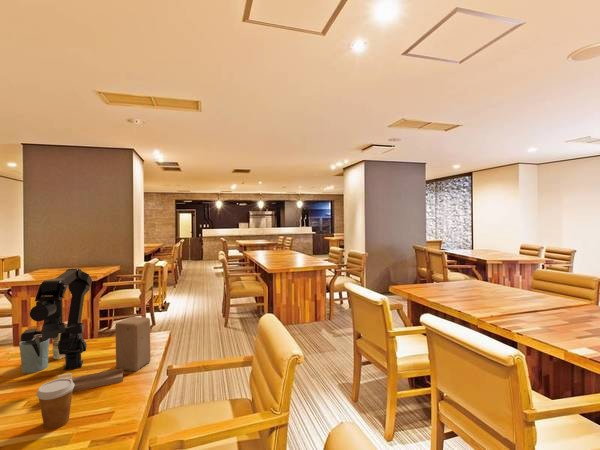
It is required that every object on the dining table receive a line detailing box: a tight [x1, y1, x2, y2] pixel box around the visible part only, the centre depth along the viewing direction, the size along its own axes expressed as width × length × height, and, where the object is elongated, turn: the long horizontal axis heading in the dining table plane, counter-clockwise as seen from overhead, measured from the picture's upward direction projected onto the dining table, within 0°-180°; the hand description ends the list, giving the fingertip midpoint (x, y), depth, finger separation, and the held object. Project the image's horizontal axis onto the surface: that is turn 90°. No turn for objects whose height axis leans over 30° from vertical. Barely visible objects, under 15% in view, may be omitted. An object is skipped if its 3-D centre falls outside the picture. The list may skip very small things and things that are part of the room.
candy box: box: [51, 320, 68, 360], centre depth 153 cm, size 9×4×15 cm, turn 164°
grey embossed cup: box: [18, 336, 51, 374], centre depth 140 cm, size 10×10×12 cm
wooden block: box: [115, 316, 152, 372], centre depth 142 cm, size 10×10×20 cm
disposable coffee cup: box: [35, 378, 75, 430], centre depth 103 cm, size 10×10×12 cm
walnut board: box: [72, 368, 124, 393], centre depth 127 cm, size 8×23×2 cm, turn 118°
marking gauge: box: [55, 372, 73, 380], centre depth 121 cm, size 13×4×7 cm, turn 28°
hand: (54, 353), depth 126 cm, fingers open, 9 cm apart
